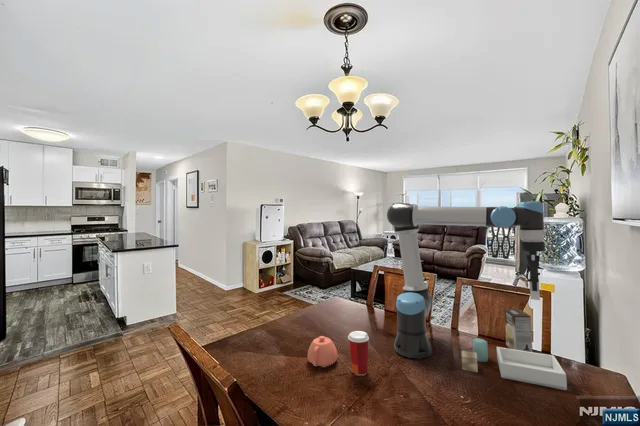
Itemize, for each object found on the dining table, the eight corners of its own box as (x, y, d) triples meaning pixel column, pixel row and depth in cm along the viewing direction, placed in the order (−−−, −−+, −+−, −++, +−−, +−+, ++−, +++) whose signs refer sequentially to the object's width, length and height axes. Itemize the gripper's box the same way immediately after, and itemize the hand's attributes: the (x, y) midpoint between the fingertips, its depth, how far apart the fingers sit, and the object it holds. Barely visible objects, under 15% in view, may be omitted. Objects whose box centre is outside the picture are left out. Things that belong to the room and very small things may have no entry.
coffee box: (505, 345, 119) (503, 308, 119) (521, 346, 118) (519, 308, 118) (516, 355, 110) (513, 315, 110) (534, 356, 109) (531, 315, 109)
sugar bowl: (342, 358, 113) (341, 333, 113) (329, 375, 100) (328, 347, 101) (315, 353, 118) (315, 329, 118) (300, 369, 105) (299, 342, 106)
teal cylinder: (473, 360, 107) (472, 342, 107) (473, 354, 112) (472, 337, 112) (488, 363, 105) (487, 344, 105) (487, 357, 109) (486, 339, 110)
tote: (501, 377, 95) (500, 363, 95) (497, 359, 107) (496, 346, 107) (567, 390, 87) (566, 374, 87) (554, 369, 99) (553, 355, 99)
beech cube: (462, 369, 101) (461, 356, 101) (462, 363, 106) (461, 350, 106) (477, 372, 99) (477, 358, 99) (477, 366, 103) (476, 352, 103)
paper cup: (371, 368, 104) (370, 331, 104) (368, 379, 97) (366, 339, 97) (351, 365, 107) (350, 329, 107) (347, 376, 99) (345, 337, 100)
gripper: (545, 243, 95) (549, 305, 94) (543, 238, 114) (546, 289, 113) (519, 243, 99) (522, 301, 98) (521, 238, 119) (523, 287, 118)
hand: (535, 295), depth 106 cm, fingers open, 13 cm apart
